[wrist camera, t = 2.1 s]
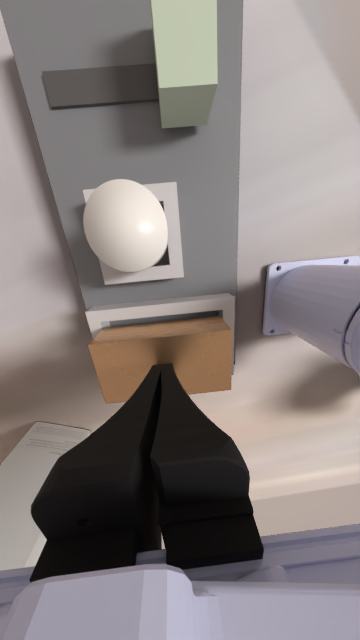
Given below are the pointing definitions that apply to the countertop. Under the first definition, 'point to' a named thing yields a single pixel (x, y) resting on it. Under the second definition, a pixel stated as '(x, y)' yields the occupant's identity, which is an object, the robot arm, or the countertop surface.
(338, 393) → the countertop surface
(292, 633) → the robot arm
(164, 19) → the pale green block
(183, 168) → the switch panel
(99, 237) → the off-white button
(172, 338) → the brown rectangular block
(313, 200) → the countertop surface
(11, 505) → the supplement box
